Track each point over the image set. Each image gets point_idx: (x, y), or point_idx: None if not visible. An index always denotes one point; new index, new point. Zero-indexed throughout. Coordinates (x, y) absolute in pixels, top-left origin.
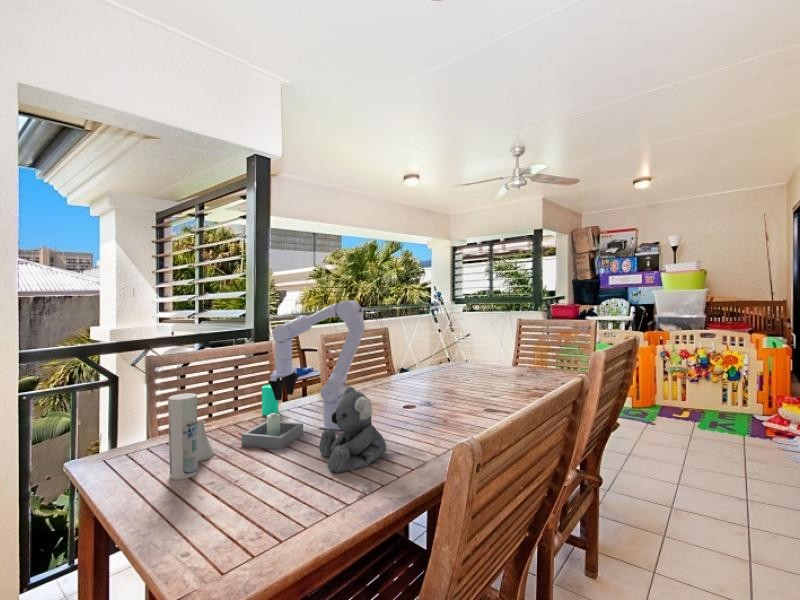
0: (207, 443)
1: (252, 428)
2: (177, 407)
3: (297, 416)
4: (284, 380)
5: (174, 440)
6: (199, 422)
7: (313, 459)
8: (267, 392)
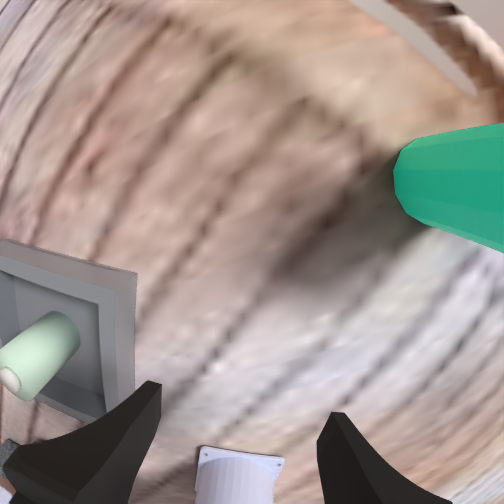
0: None
1: (21, 263)
2: None
3: (367, 342)
4: (374, 494)
5: None
6: None
7: (24, 424)
8: (476, 184)
